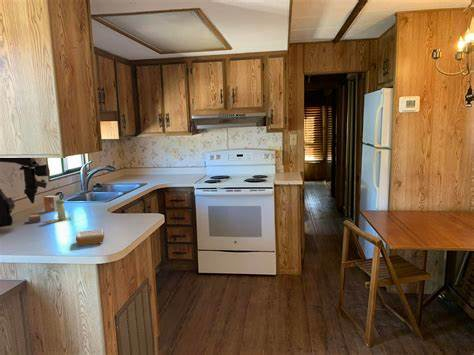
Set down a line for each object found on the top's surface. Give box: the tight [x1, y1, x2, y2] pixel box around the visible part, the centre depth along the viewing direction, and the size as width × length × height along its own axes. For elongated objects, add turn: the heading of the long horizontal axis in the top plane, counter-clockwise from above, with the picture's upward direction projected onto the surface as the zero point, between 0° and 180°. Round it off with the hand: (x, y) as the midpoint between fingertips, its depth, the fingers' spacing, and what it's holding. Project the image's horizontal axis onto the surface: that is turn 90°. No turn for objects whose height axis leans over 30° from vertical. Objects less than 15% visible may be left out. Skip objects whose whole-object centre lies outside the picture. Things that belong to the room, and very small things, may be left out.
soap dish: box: [75, 229, 105, 247], centre depth 169 cm, size 12×10×5 cm
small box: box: [43, 195, 60, 213], centre depth 241 cm, size 8×6×10 cm
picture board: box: [41, 216, 72, 224], centre depth 216 cm, size 18×17×1 cm
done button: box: [29, 214, 39, 218], centre depth 211 cm, size 4×4×2 cm
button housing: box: [28, 214, 42, 224], centre depth 211 cm, size 6×6×4 cm
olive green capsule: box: [56, 199, 67, 221], centre depth 213 cm, size 4×4×12 cm
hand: (32, 203), depth 210 cm, fingers open, 2 cm apart
